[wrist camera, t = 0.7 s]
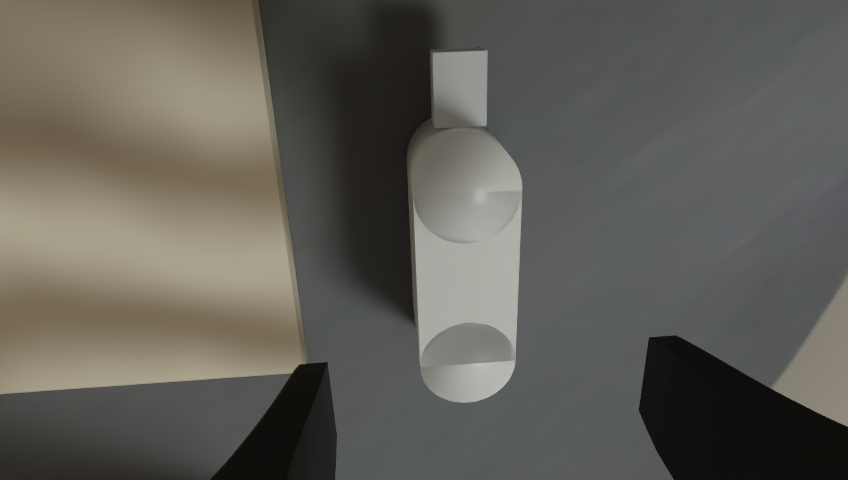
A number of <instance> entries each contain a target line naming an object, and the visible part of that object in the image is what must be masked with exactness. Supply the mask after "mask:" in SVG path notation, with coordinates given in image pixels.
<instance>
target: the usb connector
mask: <svg viewBox="0 0 848 480" xmlns="http://www.w3.org/2000/svg"><path fill="white" fill-rule="evenodd" d="M430 73H431V111H432V117H431V118H429V119H428V120H426V121H425V122H424V123H422V124H421V125H420V126H419V127H418V129H417V130H416V131H415V132H414V134H413V136H412V137H411V140H410V142H409V145H408V149H407V178H408V200H409V222H410V244H411V267H412V289H413V308H414V317H415V326H416V335H417V344H418V352H419V361H420V370H421V375H422V378H423V380H424V382H425V384H426V385H427V387H428V388H429V389H430V390H431V391H432V392H433V393H435V394H436V395H438V396H439V397H441V398H444V399H446V400H449V401H454V402H462V403H463V402H475V401H479V400H482V399H485V398H487V397H489V396H491V395H493V394H495V393H496V392H498V391H499V390H500V389H501V388H502V387H503V386H504V385H505V384H506V383H507V382H508V380H509V379H510V377H511V375H512V373H513V370H514V367H515V358H516V332H517V307H518V281H519V256H520V231H521V205H522V181H521V176H520V173H519V170H518V168H517V166H516V164H515V163H514V161H513V160H512V158H511V157H510V156H509V154H508V153H507V152H506V151H505V149H504V148H503V147H502V146H501V145H500V143H499V142H498V141H497V140H496V138H495V137H494V136H493V135H492V133H491V132H490V131H489V130H488V128H487V127H486V122H487V50H485V49H483V48H465V49H441V50H430Z"/></svg>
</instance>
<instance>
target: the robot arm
mask: <svg viewBox="0 0 848 480" xmlns="http://www.w3.org/2000/svg"><path fill="white" fill-rule="evenodd" d="M639 412H640V414H641V417H642V419H643V421H644V424H645V426H646V428H647V431H648V433H649V435H650V437H651V440H652V442H653V444H654V446H655V448H656V450H657V452H658V454H659V456H660V457H661V459H662V461H663V462H664V464H665V466H666V467H667V469H668V471H669V472H670V474H671V475H672V477H673V479H674V480H848V427H847V426H845V425H842V424H840V423H838V422H836V421H833V420H831V419H829V418H826V417H825V416H823V415H821V414H819V413H817V412H814V411H813V410H811V409H809V408H807V407H805V406H803V405H801V404H799V403H797V402H795V401H793V400H791V399H789V398H787V397H785V396H783V395H782V394H780V393H778V392H776V391H774V390H772V389H770V388H769V387H767V386H765V385H763V384H761V383H760V382H758V381H756V380H754V379H753V378H751V377H749V376H747V375H745V374H744V373H742V372H740V371H738V370H737V369H735V368H733V367H732V366H730V365H728V364H726V363H725V362H723V361H721V360H719V359H718V358H716V357H714V356H713V355H711V354H709V353H707V352H706V351H704V350H702V349H700V348H699V347H697V346H695V345H693V344H691V343H690V342H688V341H686V340H684V339H682V338H680V337H678V336H676V335H675V336H662V337H649V342H648V349H647V356H646V363H645V370H644V377H643V384H642V391H641V399H640V406H639ZM336 444H337V433H336V426H335V418H334V410H333V402H332V394H331V387H330V379H329V371H328V363H327V362H324V363H311V364H299V365H298V366H297V367H296V368H295V370H294V371H293V373H292V374H291V376H290V378H289V379H288V381H287V382H286V384H285V385H284V387H283V388H282V390H281V391H280V393H279V394H278V396H277V397H276V399H275V400H274V402H273V403H272V405H271V406H270V407H269V409H268V410H267V411H266V413H265V414H264V416H263V417H262V418H261V420H260V421H259V422H258V424H257V425H256V426H255V428H254V429H253V430H252V432H251V433H250V434H249V435H248V437H247V438H246V439H245V440H244V441H243V443H242V444H241V445H240V446H239V447H238V449H237V450H236V451H235V452H234V453H233V455H232V456H231V457H230V458H229V459H228V461H227V462H226V463H225V464H224V465H223V466H222V467H221V468H220V470H219V471H218V472H217V473H216V474H215V475H214V476H213V477H212V478H211V479H210V480H335V469H336Z"/></svg>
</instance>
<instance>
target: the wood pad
mask: <svg viewBox="0 0 848 480" xmlns="http://www.w3.org/2000/svg"><path fill="white" fill-rule="evenodd" d="M306 360H307V353H306V346H305V339H304V331H303V324H302V317H301V309H300V302H299V295H298V288H297V280H296V273H295V266H294V258H293V251H292V244H291V236H290V229H289V222H288V215H287V207H286V200H285V193H284V185H283V178H282V171H281V163H280V156H279V149H278V142H277V134H276V127H275V120H274V112H273V105H272V98H271V90H270V83H269V76H268V69H267V61H266V54H265V47H264V39H263V32H262V25H261V17H260V10H259V3H258V0H0V394H6V393H20V392H34V391H48V390H62V389H76V388H90V387H104V386H118V385H132V384H146V383H160V382H174V381H188V380H202V379H216V378H230V377H244V376H258V375H272V374H286V373H293V371H294V370H295V368H296V367H297V366H298V365H299V364H306Z"/></svg>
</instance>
